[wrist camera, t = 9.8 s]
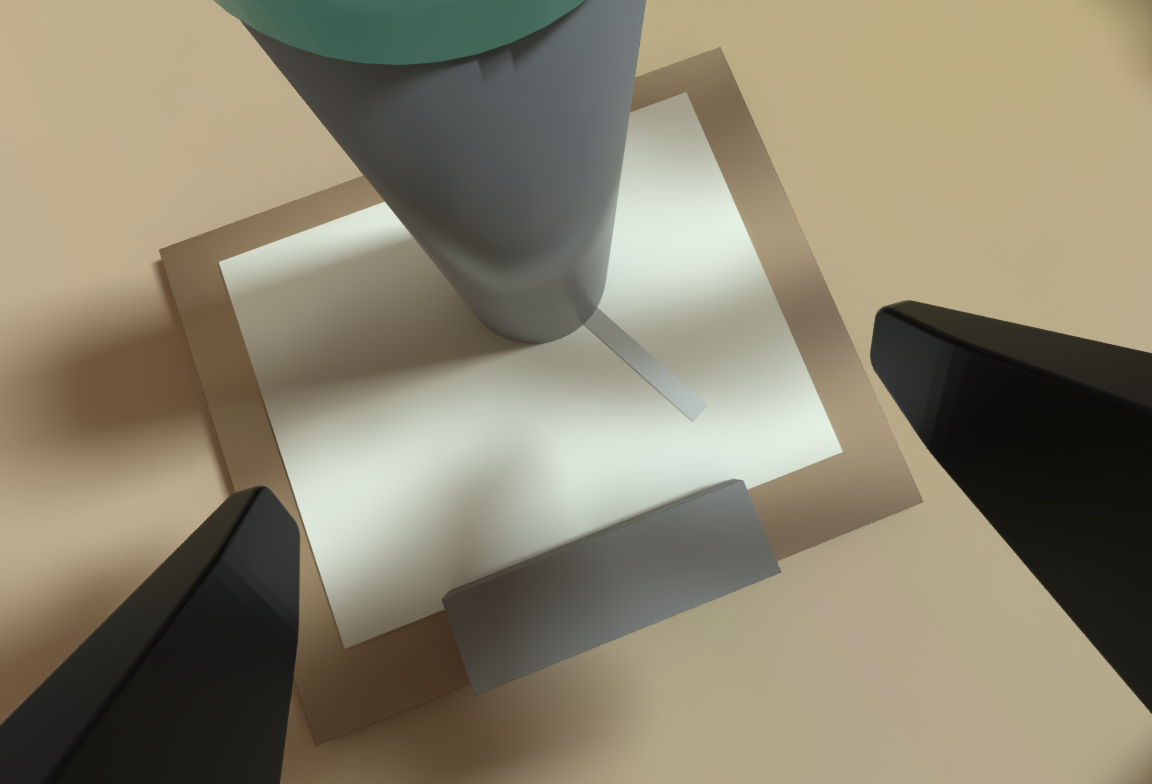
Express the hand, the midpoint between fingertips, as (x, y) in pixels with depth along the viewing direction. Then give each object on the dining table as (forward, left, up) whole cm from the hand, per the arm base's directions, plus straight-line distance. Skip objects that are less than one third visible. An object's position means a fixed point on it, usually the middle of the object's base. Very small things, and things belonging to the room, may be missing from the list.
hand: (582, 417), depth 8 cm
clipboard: (+2, +1, -8) cm, 8 cm away
